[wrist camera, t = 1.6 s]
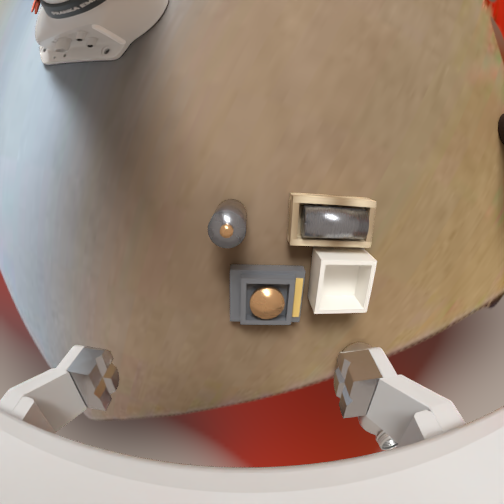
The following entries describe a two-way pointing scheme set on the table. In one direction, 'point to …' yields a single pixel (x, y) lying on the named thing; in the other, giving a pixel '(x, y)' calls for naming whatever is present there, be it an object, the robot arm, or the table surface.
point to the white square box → (340, 280)
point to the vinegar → (501, 128)
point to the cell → (228, 224)
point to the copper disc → (267, 302)
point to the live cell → (334, 222)
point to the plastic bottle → (364, 421)
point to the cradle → (257, 276)
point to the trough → (334, 201)
